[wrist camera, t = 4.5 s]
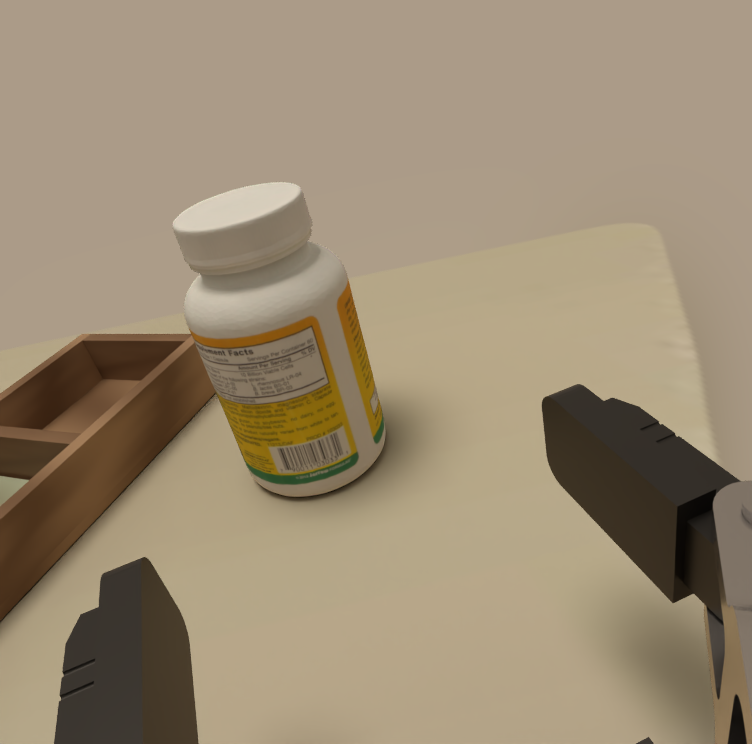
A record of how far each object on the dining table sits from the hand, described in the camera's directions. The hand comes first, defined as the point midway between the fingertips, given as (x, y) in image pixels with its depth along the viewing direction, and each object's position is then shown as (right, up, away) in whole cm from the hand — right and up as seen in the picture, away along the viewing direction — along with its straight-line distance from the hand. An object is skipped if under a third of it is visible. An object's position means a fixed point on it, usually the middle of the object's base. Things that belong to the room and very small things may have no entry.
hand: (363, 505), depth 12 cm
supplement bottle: (-2, -1, +12) cm, 12 cm away
